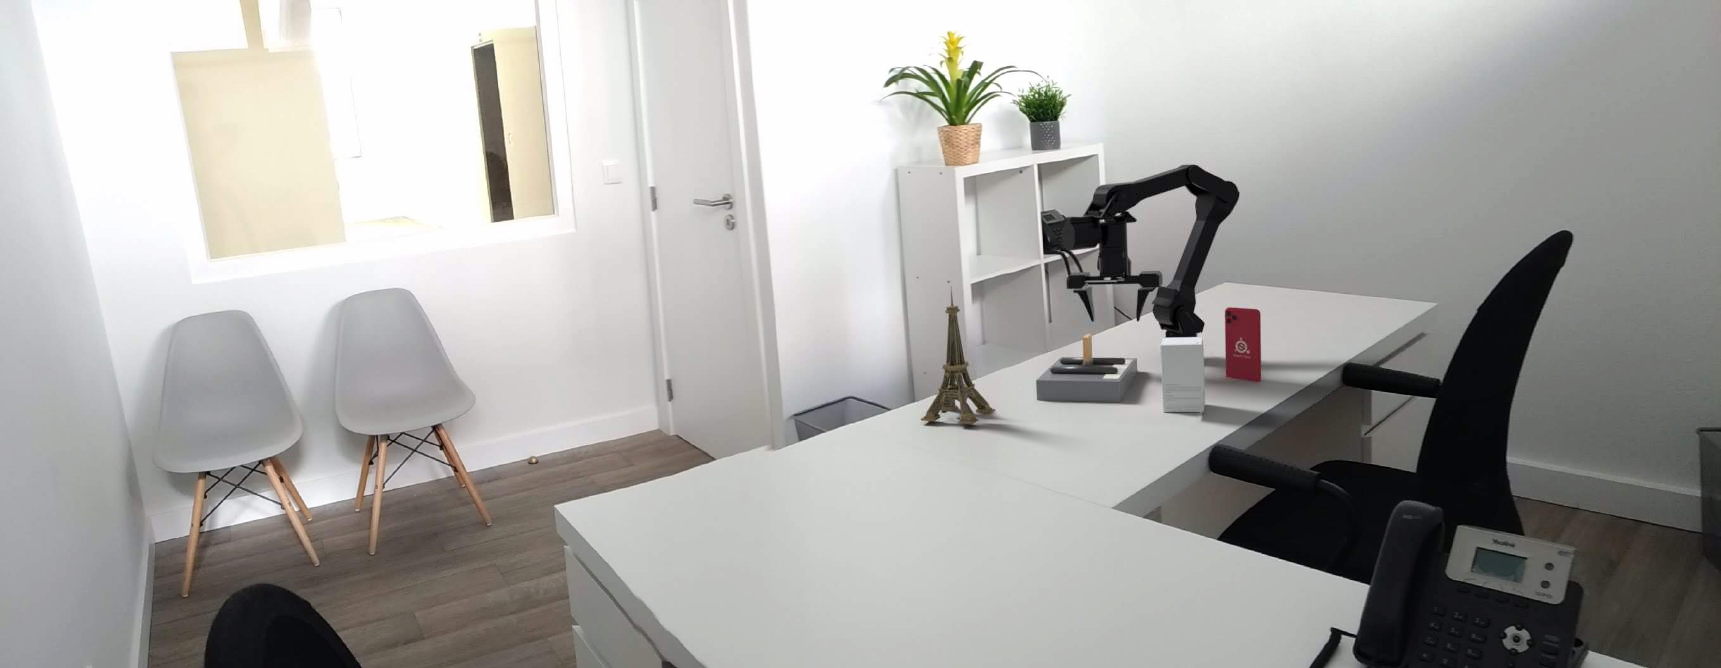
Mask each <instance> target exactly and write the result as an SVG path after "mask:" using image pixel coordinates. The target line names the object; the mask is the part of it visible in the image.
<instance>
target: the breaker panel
mask: <svg viewBox="0 0 1721 668" xmlns="http://www.w3.org/2000/svg"><path fill="white" fill-rule="evenodd" d="M1092 358H1093V360H1094V363H1093V365H1092V366H1091V367H1082V363H1083V356H1081V357H1076V356H1075V357H1070V356H1068V357H1067V356H1066V357H1065V356H1063V357H1060V358H1059V359H1057V360H1056V361H1055V362H1054V363H1053V364H1052V365H1051V366H1050V367H1048V369H1046V370H1045V371H1044V372H1043V373H1041V375H1040V376H1039V377H1038V378H1037V379H1036V380H1035V381H1036V382H1035V385H1036V387H1035V388H1036V389H1035V391H1036V400H1037V401H1061V402H1062V401H1063V402H1064V401H1065V402H1095V403H1096V402H1097V403H1101V402H1102V403H1105V402H1106V403H1121V402H1122V400H1123V397H1124V396H1125V395H1126V393H1127V392H1128V388H1129V387H1130V385H1131V383H1132V382H1133V380H1134V378H1135V376H1136V375H1137V373H1138V359H1137V357H1136V358H1135V357H1134V358H1132V357H1130V358H1129V357H1127V358H1126V357H1092ZM1135 374H1136V375H1135ZM1125 392H1126V393H1125Z"/></svg>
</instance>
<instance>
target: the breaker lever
mask: <svg viewBox="0 0 1721 668" xmlns="http://www.w3.org/2000/svg"><path fill="white" fill-rule="evenodd" d="M1082 357H1083V363H1082V367H1091V366H1092V365H1093V363H1094V360H1093V358H1094V357H1093V336H1092V333H1086V334H1085V335H1084V336H1082Z"/></svg>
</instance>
